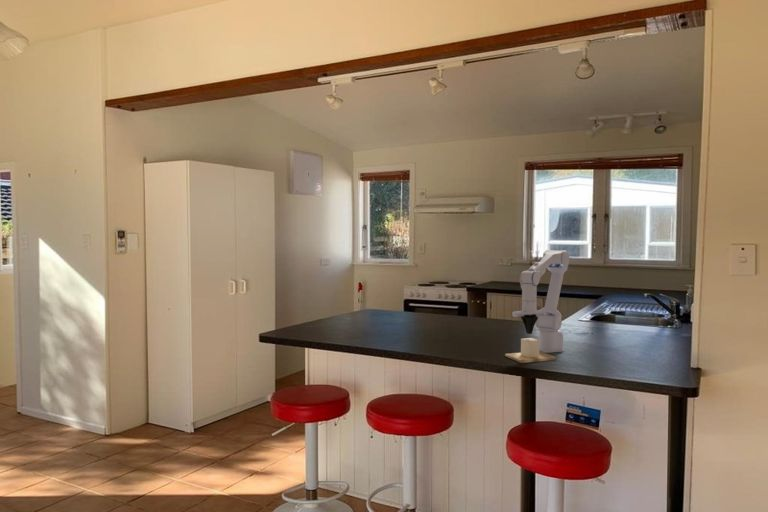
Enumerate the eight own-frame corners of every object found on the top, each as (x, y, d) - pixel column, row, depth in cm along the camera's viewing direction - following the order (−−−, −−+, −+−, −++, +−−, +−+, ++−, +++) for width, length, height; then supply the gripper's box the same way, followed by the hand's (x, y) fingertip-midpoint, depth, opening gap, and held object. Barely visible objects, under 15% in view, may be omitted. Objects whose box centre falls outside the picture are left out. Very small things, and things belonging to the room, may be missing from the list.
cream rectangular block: (531, 353, 225) (531, 337, 225) (539, 356, 220) (539, 340, 220) (520, 354, 223) (520, 338, 223) (528, 357, 218) (528, 341, 218)
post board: (539, 353, 230) (539, 339, 229) (555, 359, 218) (556, 345, 218) (505, 356, 225) (505, 341, 225) (520, 362, 214) (520, 347, 213)
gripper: (539, 298, 228) (539, 330, 229) (508, 300, 224) (508, 332, 224) (549, 300, 221) (548, 333, 222) (517, 302, 217) (517, 336, 218)
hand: (529, 333), depth 223 cm, fingers closed
